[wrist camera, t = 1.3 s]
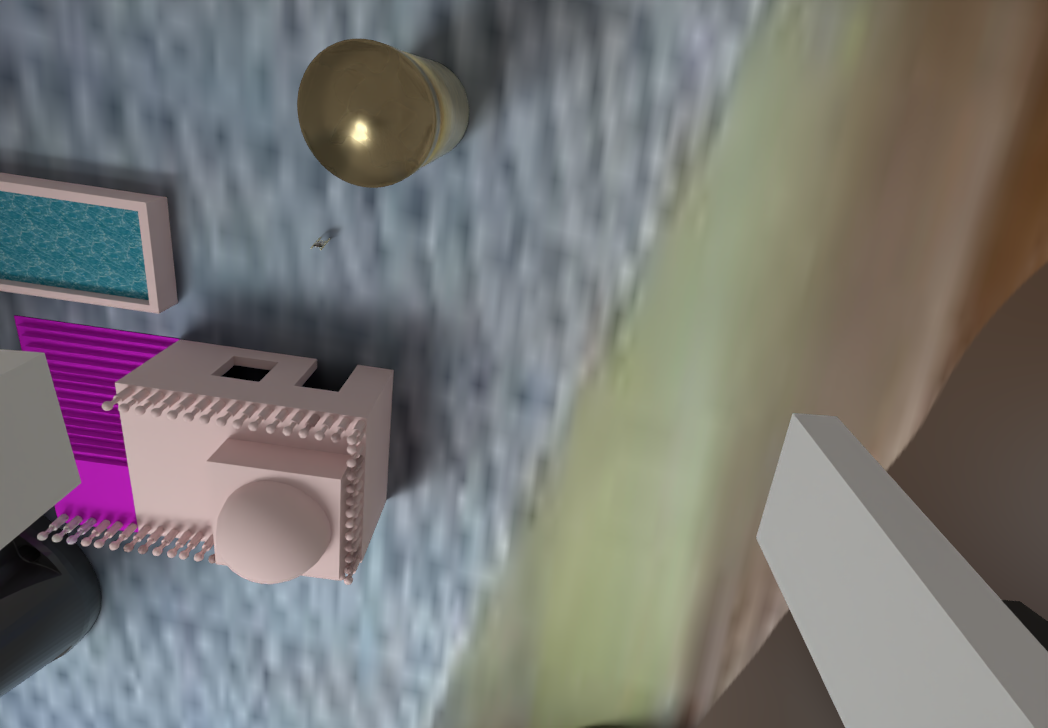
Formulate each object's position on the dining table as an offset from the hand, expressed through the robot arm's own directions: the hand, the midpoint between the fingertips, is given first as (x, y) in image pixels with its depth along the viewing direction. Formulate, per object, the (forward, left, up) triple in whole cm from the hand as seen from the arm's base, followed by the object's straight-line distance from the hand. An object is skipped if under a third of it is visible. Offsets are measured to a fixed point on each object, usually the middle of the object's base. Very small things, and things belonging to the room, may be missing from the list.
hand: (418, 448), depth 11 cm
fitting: (-5, +4, -22) cm, 23 cm away
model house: (-17, -11, -22) cm, 30 cm away
